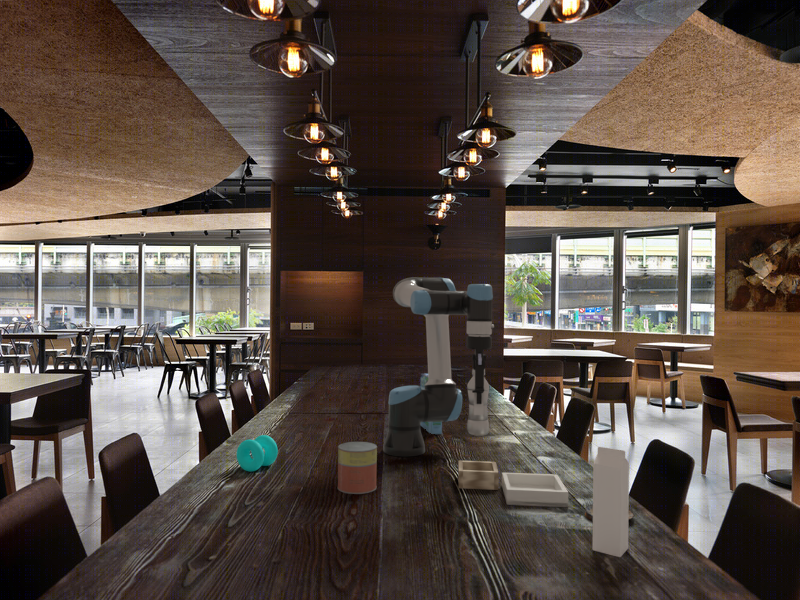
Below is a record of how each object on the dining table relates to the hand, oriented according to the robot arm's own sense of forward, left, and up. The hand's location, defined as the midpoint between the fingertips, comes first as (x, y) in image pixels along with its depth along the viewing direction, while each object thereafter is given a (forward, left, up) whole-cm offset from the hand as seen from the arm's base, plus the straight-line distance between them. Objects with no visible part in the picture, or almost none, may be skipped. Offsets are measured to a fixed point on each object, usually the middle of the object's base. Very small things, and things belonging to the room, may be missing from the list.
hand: (478, 412), depth 172 cm
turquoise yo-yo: (-70, +6, -21) cm, 73 cm away
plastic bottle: (0, 0, -7) cm, 7 cm away
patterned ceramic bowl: (+32, -24, -22) cm, 46 cm away
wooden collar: (0, 0, -21) cm, 21 cm away
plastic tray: (+15, -10, -21) cm, 28 cm away
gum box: (-17, +73, -21) cm, 78 cm away
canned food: (-35, -9, -21) cm, 42 cm away
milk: (+27, -44, -21) cm, 56 cm away
